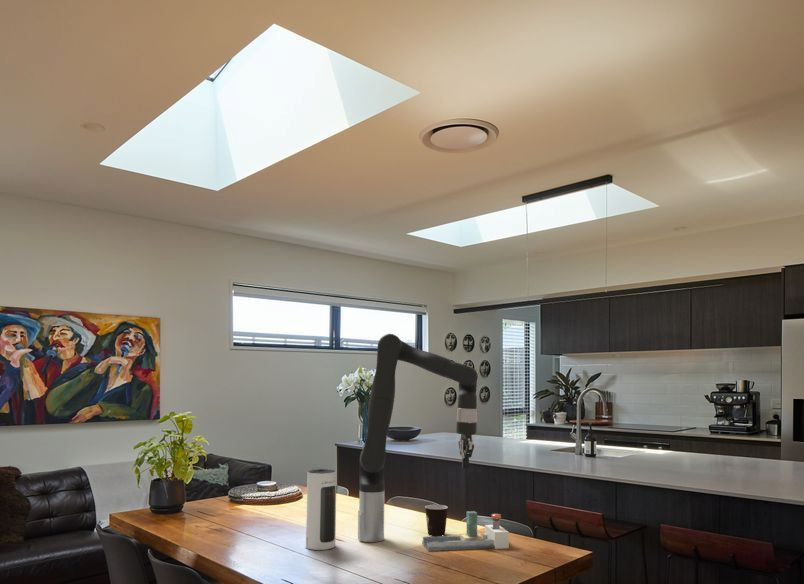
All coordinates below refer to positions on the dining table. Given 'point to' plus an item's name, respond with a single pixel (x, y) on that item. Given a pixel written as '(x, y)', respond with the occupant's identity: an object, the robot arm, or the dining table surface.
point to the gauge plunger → (496, 521)
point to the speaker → (321, 509)
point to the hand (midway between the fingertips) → (465, 468)
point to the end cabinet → (498, 536)
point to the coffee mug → (436, 519)
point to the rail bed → (456, 543)
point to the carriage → (471, 528)
